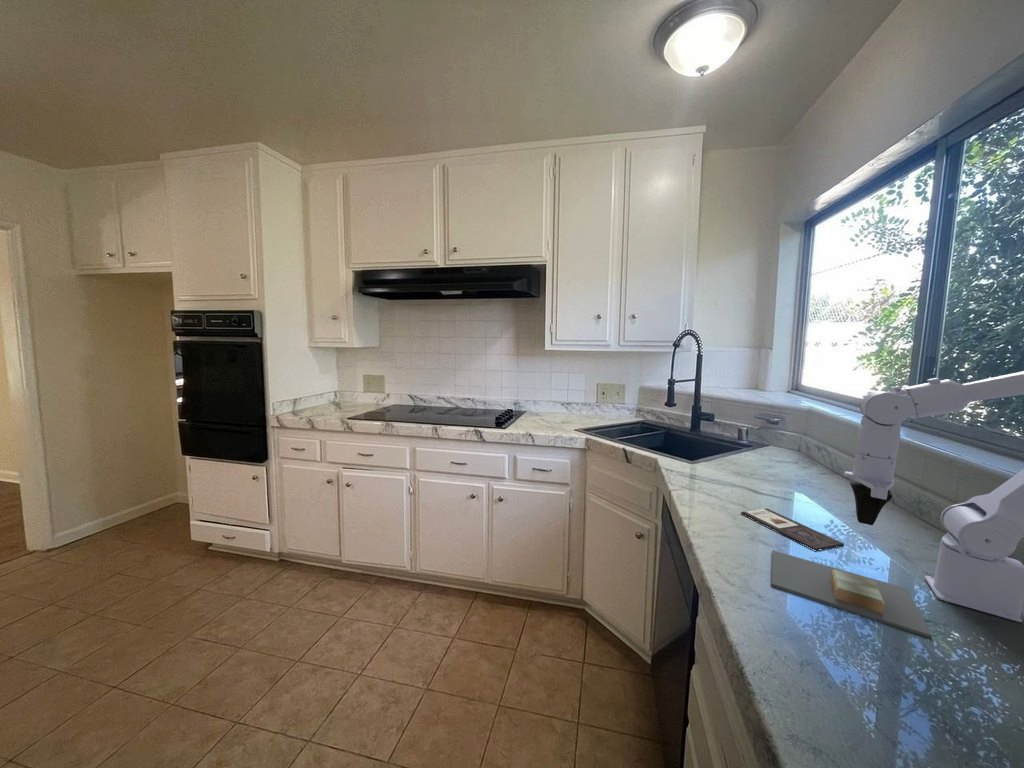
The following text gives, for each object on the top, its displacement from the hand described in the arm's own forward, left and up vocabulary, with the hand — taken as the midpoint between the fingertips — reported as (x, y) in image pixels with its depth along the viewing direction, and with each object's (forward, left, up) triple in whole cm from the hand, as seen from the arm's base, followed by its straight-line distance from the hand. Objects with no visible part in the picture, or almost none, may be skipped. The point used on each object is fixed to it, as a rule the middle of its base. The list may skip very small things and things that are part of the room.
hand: (865, 522), depth 75 cm
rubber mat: (+4, +11, -9) cm, 15 cm away
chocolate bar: (+11, -12, -10) cm, 19 cm away
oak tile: (+2, +9, -8) cm, 12 cm away
